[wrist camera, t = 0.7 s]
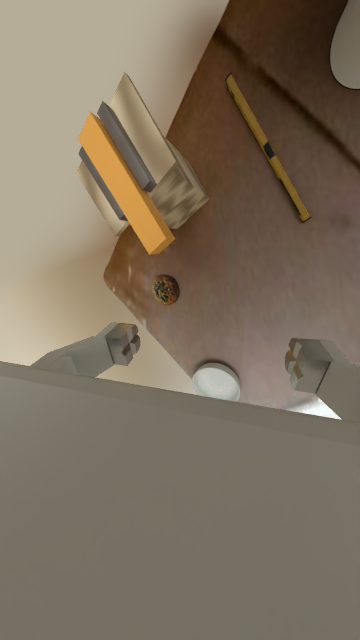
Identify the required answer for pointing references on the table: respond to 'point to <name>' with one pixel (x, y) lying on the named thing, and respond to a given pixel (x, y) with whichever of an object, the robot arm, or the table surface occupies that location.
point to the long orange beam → (125, 186)
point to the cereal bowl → (216, 382)
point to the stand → (142, 163)
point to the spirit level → (266, 147)
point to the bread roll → (165, 289)
